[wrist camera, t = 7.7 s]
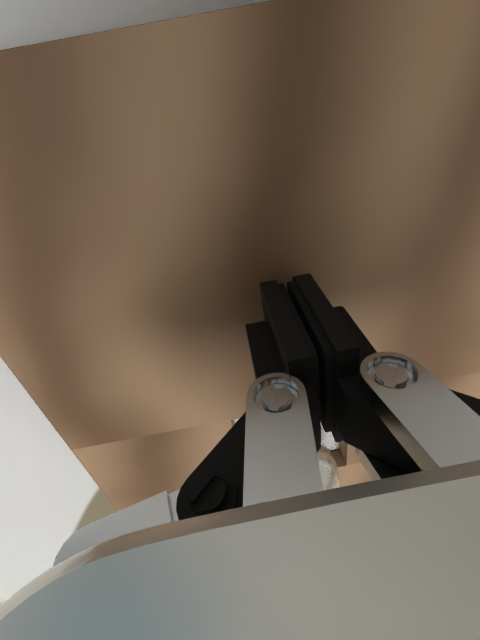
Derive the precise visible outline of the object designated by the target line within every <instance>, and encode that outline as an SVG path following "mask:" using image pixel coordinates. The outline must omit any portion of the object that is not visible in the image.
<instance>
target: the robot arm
mask: <svg viewBox="0 0 480 640" xmlns="http://www.w3.org/2000/svg"><path fill="white" fill-rule="evenodd" d="M287 290H288V292H287ZM287 290H286V288H285V286H284V284H283V283H279V284H278V283H277V281H276V280H272V281H267V282H262V283H260V292H261V299H262V306H263V313H264V320H265V321H260V322H255V323H250V324H245V327H246V333H247V338H248V343H249V348H250V354H251V359H252V364H253V368H254V373H255V378H256V380H255V381H254V382H253V383H252V384H251V385H250V387H249V388H248V391H247V396H246V412H245V413H244V414H243V415H242V416H241V418H240V419H239V420H238V421H237V422H236V423H235V424H234V426H233V427H232V428H231V429H230V430H229V431H228V432H227V434H226V435H225V436H224V437H223V438H222V439H221V440H220V441H219V443H218V444H217V445H216V446H215V447H214V448H213V449H212V451H211V452H210V453H209V454H208V455H207V456H206V457H205V459H204V460H203V461H202V462H201V463H200V464H199V465H198V466H197V468H196V469H195V470H194V471H193V472H192V473H191V474H190V476H189V477H188V478H187V479H186V481H185V482H184V484H183V485H182V487H181V488H180V489H179V490H177V491H174V492H172V493H170V494H168V493H167V491H164V492H161V493H159V494H157V495H154V496H152V497H150V498H148V499H145V500H143V501H141V502H138V503H136V504H134V505H131V506H129V507H127V508H125V509H122V510H120V511H118V512H115V513H113V514H111V515H109V516H106V517H104V518H102V519H99V520H97V521H95V522H93V523H90V524H88V525H86V526H84V527H82V528H81V529H79V530H78V531H76V532H74V533H73V534H72V535H71V536H70V538H69V539H68V540H67V541H66V542H65V543H64V544H63V546H62V547H61V549H60V551H59V552H58V554H57V556H56V558H55V562H54V565H53V567H52V568H50V569H49V570H47V571H46V572H44V573H43V574H41V575H40V576H38V577H37V578H35V579H34V580H32V581H31V582H30V583H28V584H27V585H25V586H24V587H23V588H22V589H20V590H19V591H18V592H16V593H15V594H14V595H13V596H12V597H10V598H9V599H8V600H7V601H6V602H4V603H3V604H2V605H1V606H0V640H480V399H478V398H475V397H472V396H469V395H466V394H463V393H460V392H456V391H453V390H450V389H448V388H447V387H446V386H445V385H443V384H442V383H441V382H440V381H439V380H438V379H437V378H435V377H434V376H433V375H432V374H431V373H430V372H429V371H427V370H426V369H425V368H424V367H423V366H422V365H421V364H419V363H418V362H417V361H415V360H414V359H412V358H411V357H408V356H406V355H404V354H400V353H396V352H378V353H377V351H376V350H375V349H374V347H373V346H372V345H371V343H370V342H369V341H368V339H367V338H366V337H365V335H364V334H363V332H362V331H361V330H360V328H359V327H358V326H357V324H356V323H355V322H354V320H353V319H352V318H351V316H350V315H349V313H348V312H347V311H346V309H345V308H344V307H343V306H337V307H333V306H332V305H331V303H330V302H329V300H328V299H327V298H326V296H325V295H324V293H323V292H322V290H321V289H320V287H319V286H318V284H317V283H316V281H315V280H314V278H313V277H312V276H311V274H310V273H308V274H303V275H297V276H293V278H292V281H289V282H287ZM320 421H321V423H322V426H323V428H324V430H325V432H330V431H331V432H332V434H333V437H334V439H335V442H340V441H344V442H345V443H347V444H349V445H351V446H353V447H355V452H356V454H357V457H358V459H359V460H360V462H361V463H362V465H363V466H364V468H365V470H366V471H367V473H368V474H369V476H370V477H371V479H372V480H373V481H369V482H364V483H359V484H354V485H349V486H344V487H339V488H334V489H329V490H324V491H323V485H322V479H321V474H320V468H319V462H318V456H317V452H318V451H319V449H320V448H321V425H320Z"/></svg>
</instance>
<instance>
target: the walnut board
mask: <svg viewBox="0 0 480 640" xmlns="http://www.w3.org/2000/svg"><path fill="white" fill-rule="evenodd" d="M308 273H310V274H311V276H312V277H313V278H314V280H315V281H316V283H317V284H318V286H319V287H320V289H321V290H322V292H323V293H324V295H325V296H326V298H327V299H328V300H329V302H330V303H331V305H332V306H333V307H337V306H343V307H344V308H345V309H346V311H347V312H348V313H349V315H350V316H351V318H352V319H353V320H354V322H355V323H356V324H357V326H358V327H359V328H360V330H361V331H362V332H363V334H364V335H365V337H366V338H367V339H368V341H369V342H370V343H371V345H372V346H373V347H374V349H375V350H376V351H377V353H378V352H396V353H400V354H404V355H406V356H408V357H411V358H412V359H414V360H415V361H417V362H418V363H419V364H421V365H422V366H423V367H424V368H425V369H426V370H427V371H429V372H430V373H431V374H432V375H433V376H434V377H435V378H437V379H438V380H439V381H440V382H441V383H442V384H443V385H445V386H446V387H447V388H448V389H450V390H453V391H456V392H460V393H463V394H466V395H469V396H472V397H475V398H478V399H480V0H272V1H267V2H261V3H256V4H251V5H245V6H240V7H234V8H229V9H223V10H218V11H212V12H207V13H202V14H196V15H191V16H185V17H180V18H174V19H169V20H163V21H158V22H153V23H147V24H142V25H136V26H131V27H125V28H120V29H114V30H109V31H104V32H98V33H93V34H87V35H82V36H76V37H71V38H65V39H60V40H55V41H49V42H44V43H38V44H33V45H27V46H22V47H16V48H11V49H6V50H0V356H1V358H2V359H3V360H4V362H5V363H6V364H7V366H8V367H9V368H10V370H11V371H12V372H13V374H14V375H15V376H16V378H17V379H18V380H19V382H20V383H21V384H22V386H23V387H24V388H25V390H26V391H27V392H28V394H29V395H30V396H31V398H32V399H33V400H34V401H35V403H36V404H37V405H38V407H39V408H40V409H41V411H42V412H43V413H44V415H45V416H46V417H47V419H48V420H49V421H50V423H51V424H52V425H53V427H54V428H55V429H56V431H57V432H58V433H59V435H60V436H61V437H62V439H63V440H64V441H65V443H66V444H67V445H68V446H69V448H70V449H71V450H72V452H73V453H74V454H75V456H76V457H77V458H78V460H79V461H80V462H81V464H82V465H83V466H84V468H85V469H86V470H87V472H88V473H89V474H90V476H91V477H92V478H93V480H94V481H95V482H96V484H97V485H98V486H99V488H100V489H101V490H102V491H103V493H104V494H105V495H106V497H107V498H108V499H109V501H110V502H111V503H112V505H113V506H114V507H115V508H116V510H117V511H120V510H122V509H125V508H127V507H129V506H131V505H134V504H136V503H138V502H141V501H143V500H145V499H148V498H150V497H152V496H154V495H157V494H159V493H161V492H164V491H167V493H168V494H170V493H172V492H174V491H177V490H179V489H180V488H181V487H182V485H183V484H184V482H185V481H186V479H187V478H188V477H189V476H190V474H191V473H192V472H193V471H194V470H195V469H196V468H197V466H198V465H199V464H200V463H201V462H202V461H203V460H204V459H205V457H206V456H207V455H208V454H209V453H210V452H211V451H212V449H213V448H214V447H215V446H216V445H217V444H218V443H219V441H220V440H221V439H222V438H223V437H224V436H225V435H226V434H227V432H228V431H229V430H230V429H231V428H232V427H233V426H234V422H233V419H237V418H241V416H242V415H243V414H244V413H245V412H246V396H247V391H248V388H249V387H250V385H251V384H252V383H253V382H254V381H255V380H256V378H255V373H254V368H253V364H252V359H251V354H250V348H249V343H248V338H247V333H246V327H245V324H250V323H255V322H260V321H265V320H264V313H263V306H262V299H261V292H260V283H262V282H267V281H272V280H276V281H277V283H278V284H279V283H283V284H284V286H285V288H286V290H287V282H289V281H292V278H293V276H297V275H303V274H308ZM287 292H288V290H287ZM330 452H331V454H332V456H333V458H334V460H335V462H336V465H337V468H338V473H339V487H344V486H349V485H354V484H359V483H364V482H369V481H373V480H372V479H371V477H370V476H369V474H368V473H367V471H366V470H365V468H364V466H363V465H362V463H361V462H360V460H359V459H358V457H357V454H356V452H355V447H353V446H351V445H349V444H347V443H345V442H344V441H340V450H335V451H330Z"/></svg>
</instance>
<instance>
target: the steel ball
mask: <svg viewBox="0 0 480 640" xmlns="http://www.w3.org/2000/svg"><path fill="white" fill-rule="evenodd" d="M317 456H318V462H319V468H320V474H321V479H322V485H323V491H324V490H329V489H334V488H339V473H338V468H337V465H336V462H335V460H334V458H333V456H332V454H331V452H330V451H329V450H328V448H327V447H326V446H325V445H324V444H323V443H322V442H321V448H320V449H319V451H318V452H317Z"/></svg>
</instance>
